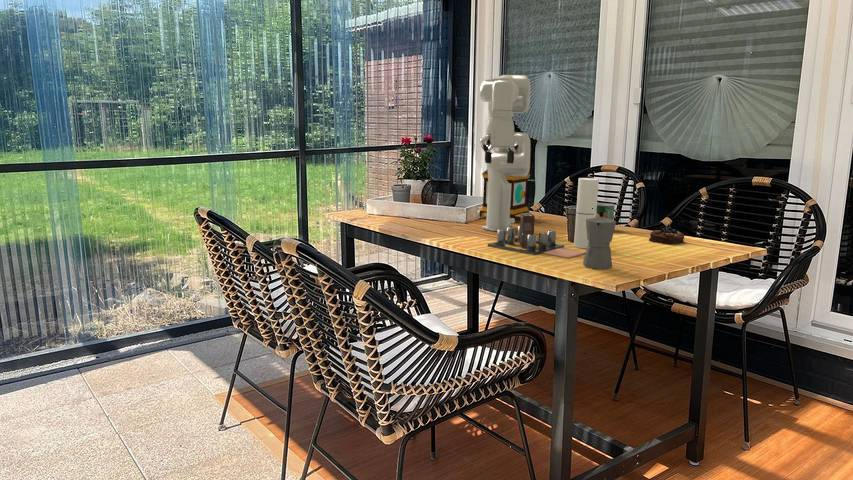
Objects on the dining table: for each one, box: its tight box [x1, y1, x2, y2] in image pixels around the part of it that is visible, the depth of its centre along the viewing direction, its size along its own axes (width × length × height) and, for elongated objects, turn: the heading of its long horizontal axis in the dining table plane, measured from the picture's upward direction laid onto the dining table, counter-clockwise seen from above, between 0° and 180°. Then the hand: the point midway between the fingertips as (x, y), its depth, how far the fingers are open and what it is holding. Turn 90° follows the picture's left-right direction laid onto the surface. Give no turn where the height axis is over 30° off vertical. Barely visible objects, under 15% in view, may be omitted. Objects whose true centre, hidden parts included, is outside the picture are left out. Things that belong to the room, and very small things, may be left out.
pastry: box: [648, 226, 685, 246], centre depth 257 cm, size 11×12×6 cm
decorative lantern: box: [478, 169, 531, 219], centre depth 302 cm, size 20×20×30 cm
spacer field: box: [487, 225, 565, 256], centre depth 239 cm, size 20×20×6 cm
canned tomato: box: [596, 202, 615, 220], centre depth 279 cm, size 8×8×11 cm
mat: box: [542, 247, 586, 260], centre depth 229 cm, size 12×10×1 cm
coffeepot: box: [582, 211, 617, 271], centre depth 210 cm, size 15×9×18 cm, turn 159°
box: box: [519, 212, 536, 249], centre depth 238 cm, size 6×4×12 cm
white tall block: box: [573, 177, 600, 249], centre depth 240 cm, size 7×7×25 cm
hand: (499, 163), depth 241 cm, fingers open, 9 cm apart
